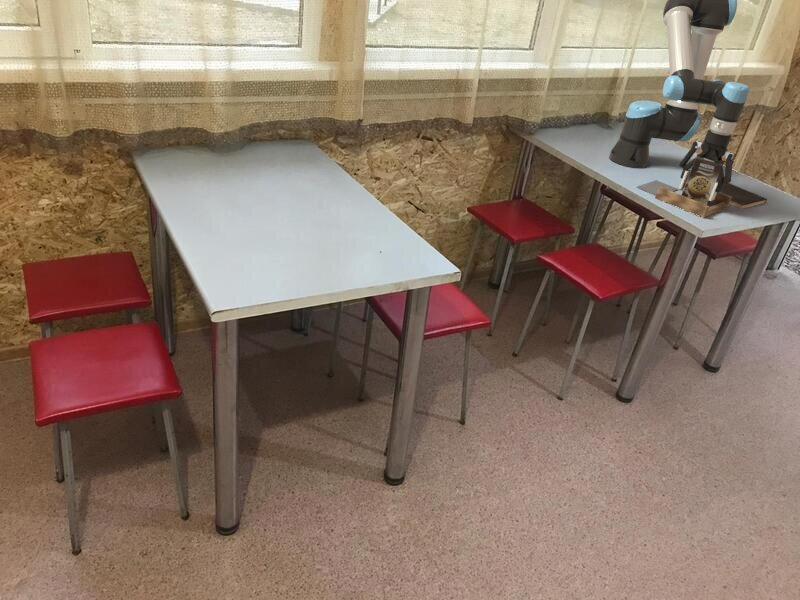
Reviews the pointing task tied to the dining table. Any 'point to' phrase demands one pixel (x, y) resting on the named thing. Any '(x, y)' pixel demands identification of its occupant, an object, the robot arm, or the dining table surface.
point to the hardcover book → (741, 196)
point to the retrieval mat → (655, 187)
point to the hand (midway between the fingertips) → (696, 194)
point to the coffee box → (702, 179)
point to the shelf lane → (694, 202)
